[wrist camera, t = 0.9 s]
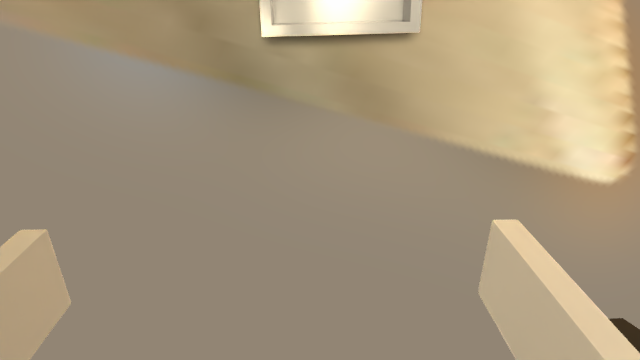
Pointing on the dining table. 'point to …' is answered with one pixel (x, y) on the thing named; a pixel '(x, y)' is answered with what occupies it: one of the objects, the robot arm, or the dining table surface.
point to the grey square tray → (339, 17)
